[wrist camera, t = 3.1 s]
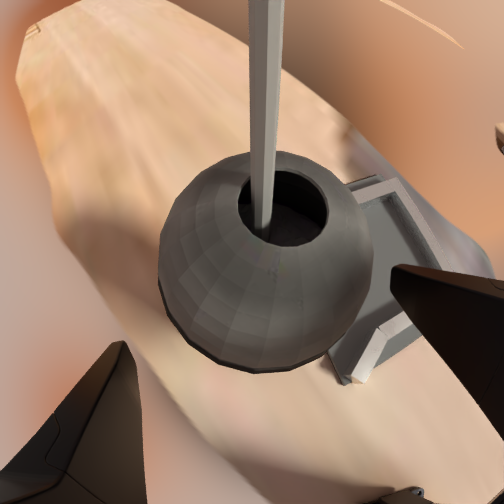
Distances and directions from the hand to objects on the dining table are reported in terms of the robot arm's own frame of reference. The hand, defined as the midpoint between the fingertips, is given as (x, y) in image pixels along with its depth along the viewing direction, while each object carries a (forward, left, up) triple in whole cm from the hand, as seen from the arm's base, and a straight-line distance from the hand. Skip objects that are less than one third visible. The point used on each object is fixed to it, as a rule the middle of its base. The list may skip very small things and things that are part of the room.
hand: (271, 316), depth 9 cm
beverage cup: (+2, 0, -12) cm, 13 cm away
